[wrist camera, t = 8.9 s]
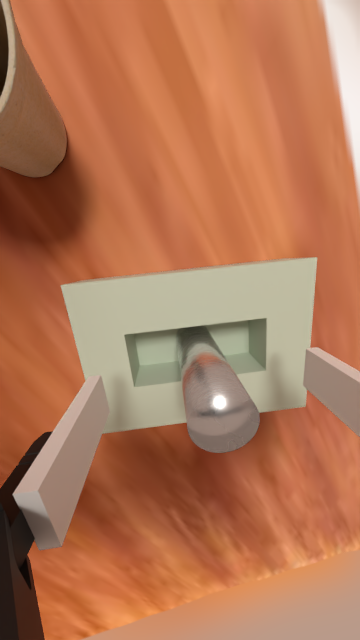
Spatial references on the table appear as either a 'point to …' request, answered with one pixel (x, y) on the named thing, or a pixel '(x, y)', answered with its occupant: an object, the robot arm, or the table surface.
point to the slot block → (188, 311)
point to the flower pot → (25, 108)
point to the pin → (213, 394)
